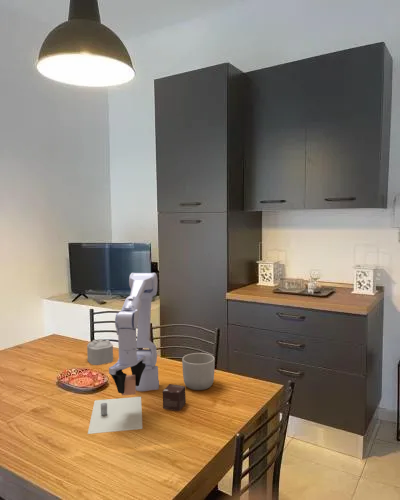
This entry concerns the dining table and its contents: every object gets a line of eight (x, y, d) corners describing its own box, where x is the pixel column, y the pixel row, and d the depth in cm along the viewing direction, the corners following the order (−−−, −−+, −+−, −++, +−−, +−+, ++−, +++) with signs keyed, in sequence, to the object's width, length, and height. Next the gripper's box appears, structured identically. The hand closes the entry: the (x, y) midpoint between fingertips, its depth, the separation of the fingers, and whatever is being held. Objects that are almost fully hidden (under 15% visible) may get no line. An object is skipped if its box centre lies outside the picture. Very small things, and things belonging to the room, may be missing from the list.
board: (141, 399, 143) (140, 387, 142) (142, 432, 121) (142, 417, 121) (94, 403, 140) (94, 390, 140) (87, 437, 119) (87, 422, 118)
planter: (178, 390, 150) (177, 362, 149) (188, 378, 162) (187, 351, 161) (210, 394, 147) (210, 365, 146) (218, 381, 159) (217, 354, 158)
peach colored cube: (135, 388, 133) (135, 374, 133) (135, 394, 129) (135, 379, 128) (122, 389, 132) (121, 375, 132) (121, 395, 128) (121, 380, 128)
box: (186, 406, 138) (185, 385, 137) (179, 414, 132) (179, 393, 131) (169, 404, 140) (169, 383, 139) (162, 412, 134) (162, 390, 133)
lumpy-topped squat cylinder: (92, 366, 176) (92, 346, 175) (84, 357, 187) (83, 339, 186) (115, 361, 182) (115, 342, 181) (105, 353, 192) (105, 335, 192)
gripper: (134, 340, 138) (135, 378, 139) (101, 352, 126) (103, 394, 127) (149, 343, 134) (150, 383, 135) (117, 356, 122) (118, 399, 123)
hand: (128, 388), depth 131 cm, fingers closed on peach colored cube, 6 cm apart
